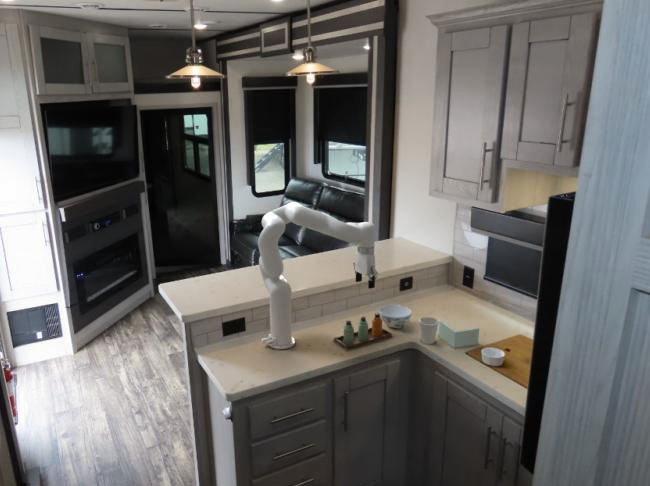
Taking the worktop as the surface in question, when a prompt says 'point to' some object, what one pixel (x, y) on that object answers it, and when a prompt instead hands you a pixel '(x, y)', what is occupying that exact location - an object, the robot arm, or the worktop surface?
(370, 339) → the tray
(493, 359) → the ramekin
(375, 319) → the amber bottle
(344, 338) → the green bottle
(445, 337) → the l-shaped corner panel
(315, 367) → the worktop surface
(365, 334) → the green bottle
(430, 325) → the dixie cup
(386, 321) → the chinaware
